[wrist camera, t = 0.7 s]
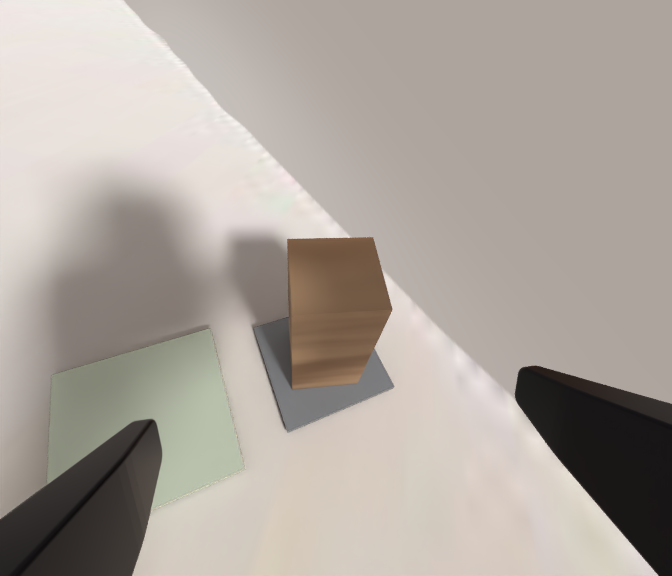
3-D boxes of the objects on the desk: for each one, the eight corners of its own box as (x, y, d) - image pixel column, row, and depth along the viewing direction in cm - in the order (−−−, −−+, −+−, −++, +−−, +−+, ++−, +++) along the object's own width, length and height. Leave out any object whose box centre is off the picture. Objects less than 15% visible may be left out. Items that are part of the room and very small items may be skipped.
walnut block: (357, 383, 23) (392, 309, 15) (292, 389, 22) (292, 315, 14) (347, 326, 26) (373, 237, 18) (288, 330, 25) (287, 238, 17)
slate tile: (392, 388, 24) (394, 386, 23) (287, 432, 21) (287, 431, 21) (347, 301, 28) (348, 298, 27) (254, 330, 25) (253, 327, 25)
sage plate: (245, 469, 20) (244, 468, 19) (49, 555, 17) (43, 556, 16) (211, 331, 25) (210, 328, 24) (56, 377, 22) (51, 374, 21)
